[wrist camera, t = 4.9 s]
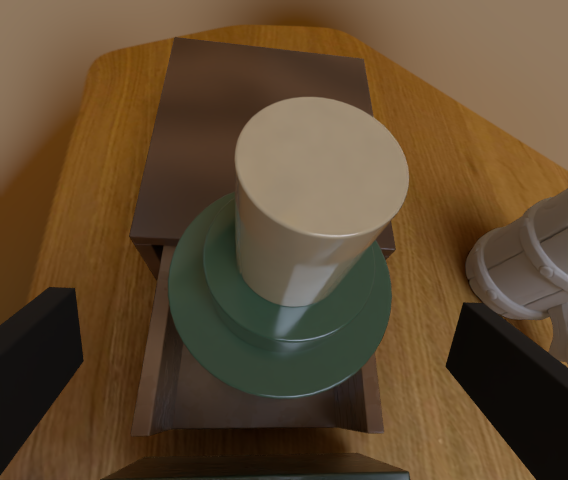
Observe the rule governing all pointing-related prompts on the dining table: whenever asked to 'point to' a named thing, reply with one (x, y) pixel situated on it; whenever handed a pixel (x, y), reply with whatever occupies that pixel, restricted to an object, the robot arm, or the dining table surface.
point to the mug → (527, 269)
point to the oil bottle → (292, 254)
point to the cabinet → (224, 127)
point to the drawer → (243, 414)
